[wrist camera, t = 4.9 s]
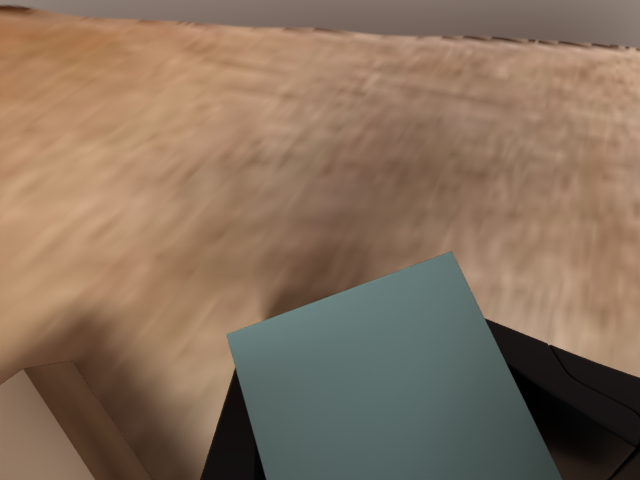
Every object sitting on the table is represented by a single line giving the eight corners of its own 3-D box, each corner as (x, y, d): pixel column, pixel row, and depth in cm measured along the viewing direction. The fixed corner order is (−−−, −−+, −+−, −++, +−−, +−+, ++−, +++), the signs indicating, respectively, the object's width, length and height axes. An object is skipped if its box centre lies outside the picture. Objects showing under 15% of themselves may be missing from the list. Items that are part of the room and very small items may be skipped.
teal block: (343, 297, 15) (452, 251, 6) (376, 383, 14) (573, 501, 5) (261, 328, 14) (226, 333, 5) (290, 423, 13) (320, 674, 4)
